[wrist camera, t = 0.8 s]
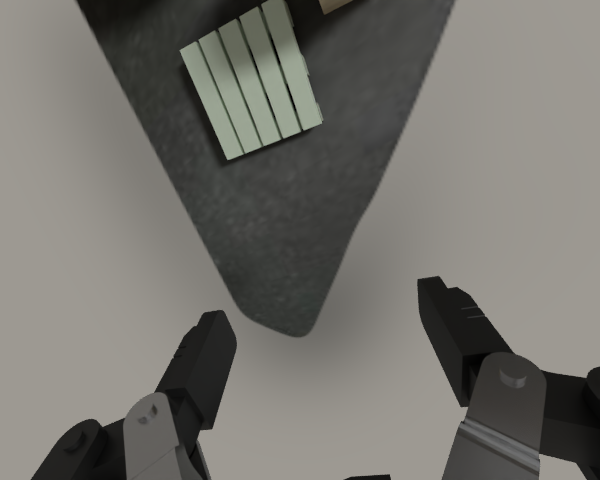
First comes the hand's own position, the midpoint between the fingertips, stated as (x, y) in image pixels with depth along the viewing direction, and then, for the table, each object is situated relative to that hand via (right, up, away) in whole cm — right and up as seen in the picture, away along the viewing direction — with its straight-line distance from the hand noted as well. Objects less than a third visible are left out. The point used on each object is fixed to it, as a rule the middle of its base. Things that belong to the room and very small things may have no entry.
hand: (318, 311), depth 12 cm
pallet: (-5, +17, +15) cm, 24 cm away
